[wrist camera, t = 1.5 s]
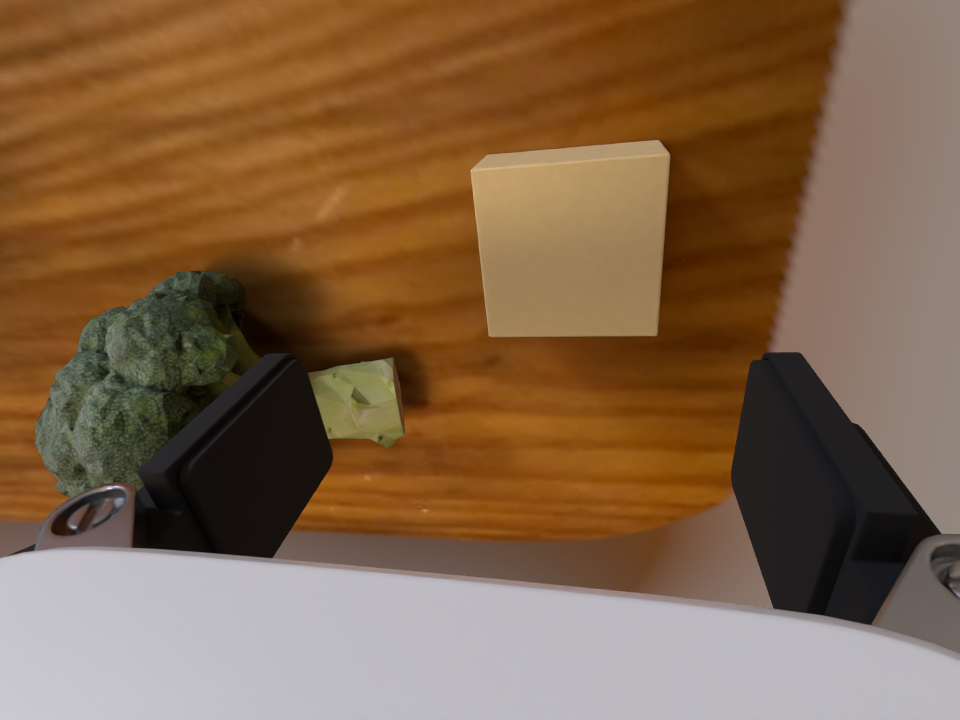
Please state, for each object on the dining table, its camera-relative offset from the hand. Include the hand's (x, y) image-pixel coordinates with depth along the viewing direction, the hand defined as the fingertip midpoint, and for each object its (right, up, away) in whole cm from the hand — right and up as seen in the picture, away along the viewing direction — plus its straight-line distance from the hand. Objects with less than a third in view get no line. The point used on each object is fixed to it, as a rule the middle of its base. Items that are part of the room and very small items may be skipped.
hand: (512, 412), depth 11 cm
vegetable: (-11, +1, +17) cm, 20 cm away
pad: (+3, +6, +10) cm, 13 cm away
